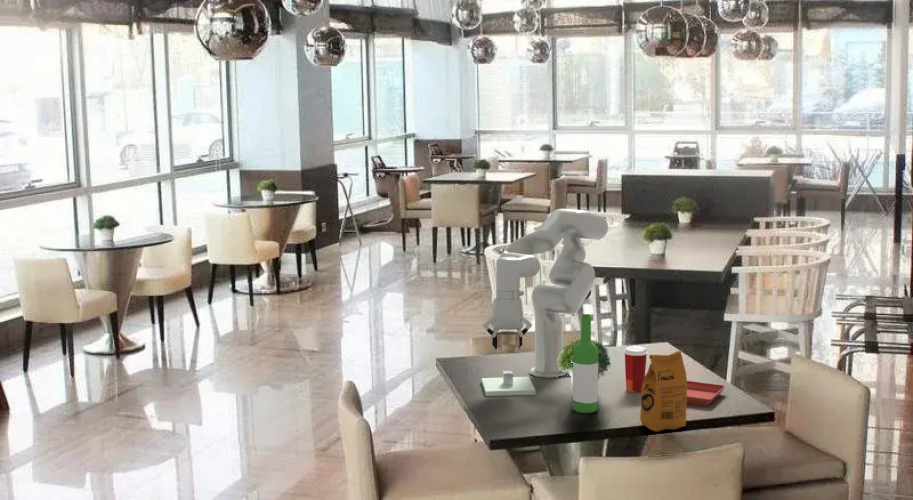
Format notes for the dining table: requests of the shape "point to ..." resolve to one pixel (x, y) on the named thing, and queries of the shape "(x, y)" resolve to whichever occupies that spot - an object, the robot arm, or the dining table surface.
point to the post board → (508, 385)
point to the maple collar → (507, 341)
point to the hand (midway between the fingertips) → (507, 347)
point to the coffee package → (664, 393)
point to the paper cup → (635, 368)
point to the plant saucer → (702, 392)
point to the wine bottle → (585, 370)
